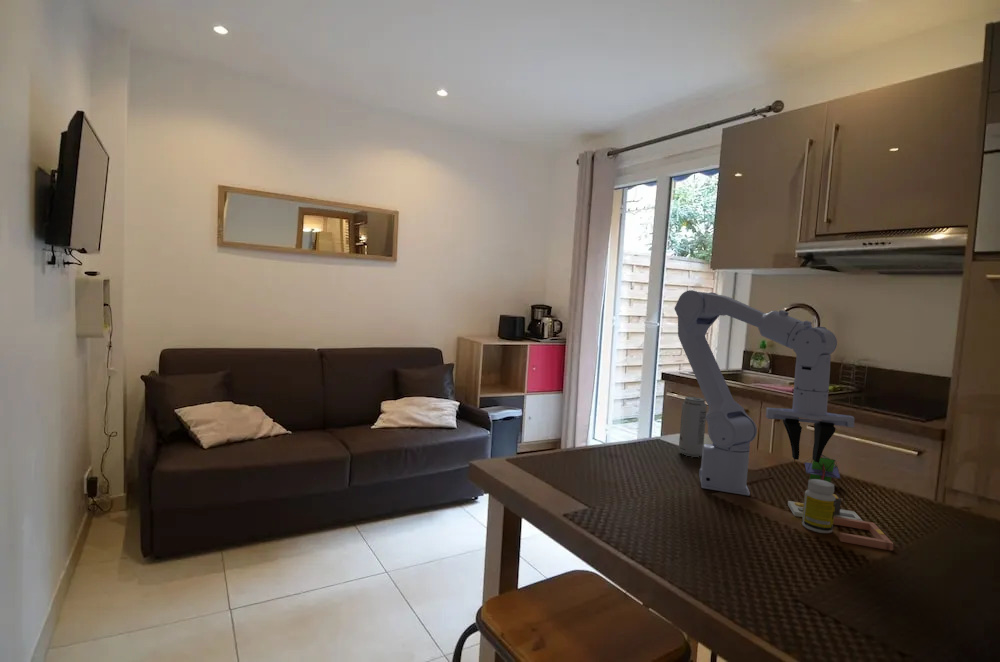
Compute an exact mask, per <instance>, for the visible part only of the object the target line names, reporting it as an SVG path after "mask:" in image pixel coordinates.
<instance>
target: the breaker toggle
mask: <svg viewBox="0 0 1000 662" xmlns="http://www.w3.org/2000/svg"><path fill="white" fill-rule="evenodd" d="M833 495H834V496H835V498H836V502H835V511H834V514H840V509H841V506H842V505H841V503H842V499H841V498H840V497H839V495H837V494H835V493H833Z"/></svg>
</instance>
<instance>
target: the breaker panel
mask: <svg viewBox="0 0 1000 662" xmlns="http://www.w3.org/2000/svg"><path fill="white" fill-rule="evenodd" d="M787 505H788V507H789V508H788V509H790V511H791V512H792V515H793V516H794V517H799V518H800V517H801V518H802V517H803V507H804V502H799V501H798V502H797V501H792V500H788V501H787ZM834 516H836V517H842V518H848V519H854V520H860V521H864V520H863V519H862V518H861V517H860V515H858V513H856V512H855V510H853V511H852V510H848V509H842V508H840V514H834Z"/></svg>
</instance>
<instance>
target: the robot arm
mask: <svg viewBox="0 0 1000 662" xmlns="http://www.w3.org/2000/svg"><path fill="white" fill-rule="evenodd" d="M674 311H675V313H676V315H677V337H678V340H679V342H680V344H681V347H682V348H683V351H684V353H685V355H686V358H687V360H688V362H689V365H690V367H691V369H692V372H693V374H694V377H695V379H696V380H697V383H698V386H699V388H700V391H701V393H702V395H703V397H704V399H705V403H706V405H707V407H708V408H707V411H706V423H707V426H708V428H707V435H708V437H709V439H710V441H711V442H712V443H704V444H703V449H702V454H701V460H700V461H701V462H700V468H699V470H698V472H699V473H698V475H699V480H700V481H699V482H700V487H701V488H702V489H706V490H712V491H718V492H723V493H730V494H737V495H742V496H750V495H751V493H750V490H749V487H748V485H747V482H748V470H749V460H750V459H749V458H750V448H751V447H750V446H751V445H750V443H752V442H753V440H754V439H755V438H756V436H757V434H758V432H757V431H758V430H757V429H758V428H757V425H756V423H755V421H754V420H753V419H752V418H751V417H750V416H749V415H748V414H747V412H746V410H745V408H744V407H743V406H742V405H741V404H740V403H738V402H737V401H736V400H735V399H734V398H733V395H732V394H731V391H730V388H729V386H728V385H727V382H726V380H725V378H724V375H723V374H722V371H721V369H720V367H719V365H718V362H717V360H716V358H715V355H714V353H713V351H712V349H711V347H710V344H709V342H708V340H707V338H706V335H707V333H708V330H709V329H710V327H711V326H712V325H713V324H714V323H715V322H716V321H717V319H718V318H719V317H720V316H722V317H724V316H725V317H726V316H728V317H730V318H732V319H735V320H739V321H741V322H744V323H746V324H749V325H752V326H754V327H756V328H757V329H758V331H759V333H760V335H761V337H763V338H766V339H768V340H771V341H773V342H775V343H777V344H780V345H782V346H784V347H785V348H788V349H790V350H793V352H794V353H795V355H796V359H795V369H794V379H793V380H794V383H793V395H792V407H791V408H780V407H779V408H777V407H765V408H766V409H765V418H766V419H767V420H768V419H769V420H781V421H782V423H783V426H784V428H785V431H786V433H787V435H788V439H789V443H790V447H791V455H792V458H793V460H797V461H798V460H800V459H799V458H800V441H801V436H802V429H803V426H802V425H801V422H802V423H811V424H813V430H814V431H813V432H814V434H813V436H814V437H813V438H814V439H813V448H812V457H813V460H814V461H815V462H819V461H820V458H821V454H822V455H823V452H824V450H825V448H826V445H827V444H828V442H829V441H830V439H831V438H832V437H833V435H834V434H835V432H836V427H835V426H841V427H847V428H855V417H854V416H853V415H849V414H847V415H846V414H839V413H832V412H828V402H829V390H830V388H829V387H830V377H831V376H830V375H831V360H832V358H831V357H832V355H831V354H832V353H834V352H835V351H836V349H837V347H838V341H837V340H838V338H837V336H836V335H835V333H833V332H832V331H831V330H829V329H828V328H826V327H824V326H815V327H813V326H812V325H813V322H812V321H809V320H803V321H802V320H799V319H797V318H796V317H793V316H790V315H789V314H790V313H789V311H786V310H782V309H781V310H779V311H777V310H771V311H770V312H767V313H765V312H763V311H761V310H759V309H757V308H755V307H752V306H750V305H747V304H746V303H743V302H741V301H738V300H737V299H735V298H732V297H730V296H726V295H723V294H718V293H715V292H703V291H697V290H693V289H692V290H691V289H690V290H686V291H684V292H683V293H681V294H680V295H679V298H678V300H677V301H676V305H675V306H674ZM813 460H812V461H813Z"/></svg>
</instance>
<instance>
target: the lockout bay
mask: <svg viewBox="0 0 1000 662" xmlns="http://www.w3.org/2000/svg"><path fill="white" fill-rule="evenodd" d="M833 525H835V526H842V527H847V528H852V529H853V528H854V529H859V530H864V531H869V533H871V535H872V536H873V537H869V536H863V535H858V534H851V533H847V532H841V531H840V532H839V534H838V540H839V542H840V543H841V542H842V543H847V544H853V545H859V546H864V547H869V548H876V549H880V550H887V551H892V552H893V551H894V543H893V541H892V540H890V538H889V537H888V536H887V535H886V534H885V533H884V532H883V530H881V529H880V527H879V526H877V525H876V523H875V522H871V521H866V520H863V521H860V520H854V519H848V518H842V517H836V516H834V521H833Z"/></svg>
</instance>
